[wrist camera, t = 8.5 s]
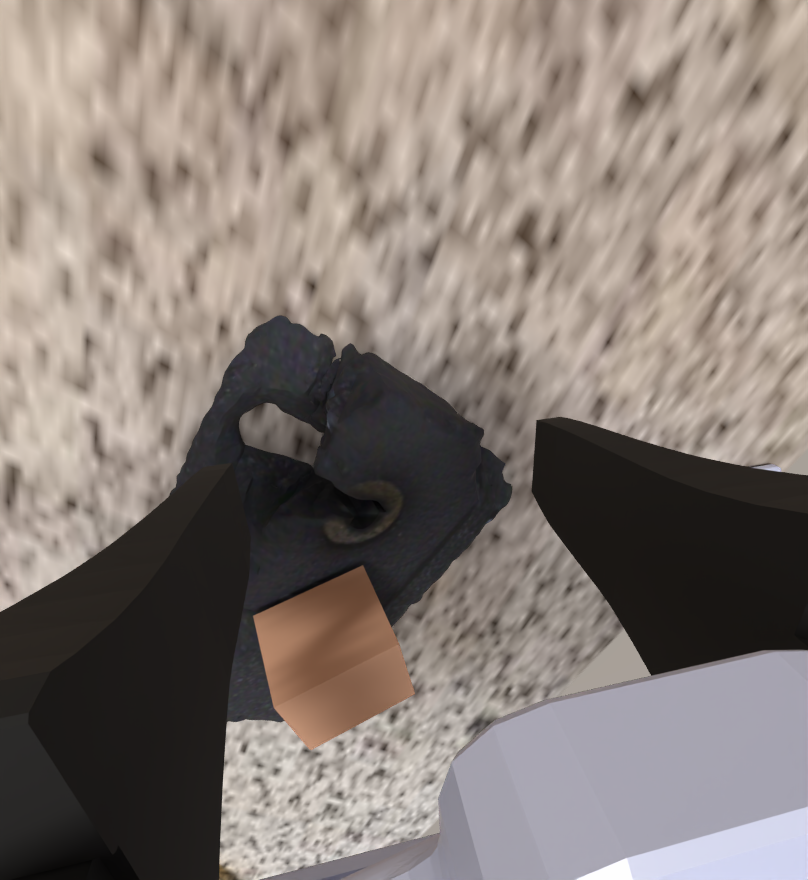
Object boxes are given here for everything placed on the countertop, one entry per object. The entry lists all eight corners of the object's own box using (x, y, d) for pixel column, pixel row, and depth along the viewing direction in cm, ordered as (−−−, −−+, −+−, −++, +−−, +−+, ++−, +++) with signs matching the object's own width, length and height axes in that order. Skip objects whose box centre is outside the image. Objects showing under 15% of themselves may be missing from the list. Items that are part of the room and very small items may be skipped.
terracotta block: (362, 565, 22) (399, 643, 19) (381, 620, 25) (415, 694, 22) (252, 615, 20) (273, 708, 18) (288, 666, 24) (310, 750, 21)
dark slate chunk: (48, 640, 25) (-3, 730, 21) (283, 277, 20) (279, 298, 15) (305, 718, 31) (306, 798, 27) (537, 458, 26) (583, 508, 22)
